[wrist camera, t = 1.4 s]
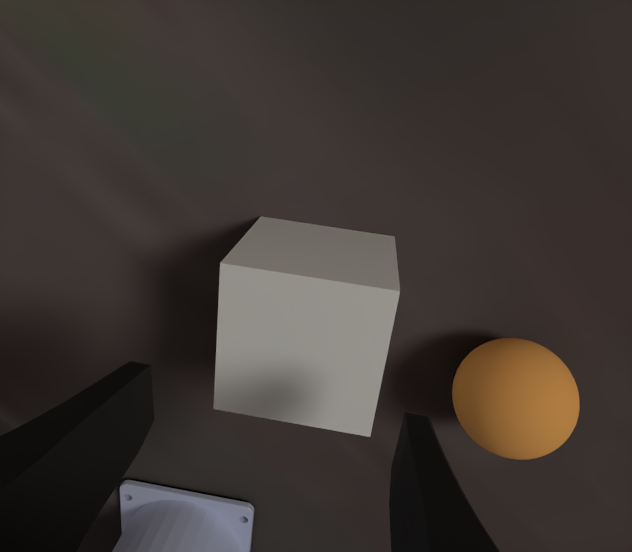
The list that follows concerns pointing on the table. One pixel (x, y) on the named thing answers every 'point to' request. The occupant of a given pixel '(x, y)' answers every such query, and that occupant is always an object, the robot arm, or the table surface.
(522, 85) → the table surface
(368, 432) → the pale grey cube
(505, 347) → the ball
